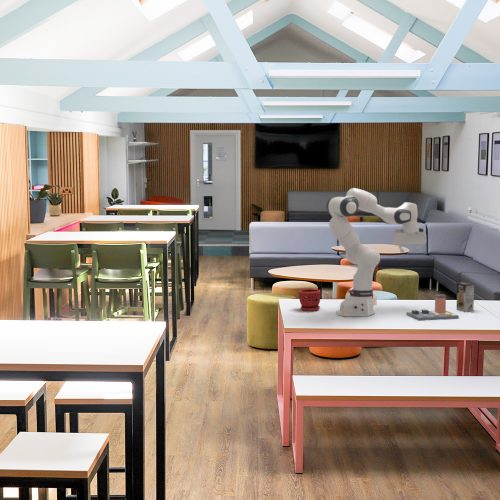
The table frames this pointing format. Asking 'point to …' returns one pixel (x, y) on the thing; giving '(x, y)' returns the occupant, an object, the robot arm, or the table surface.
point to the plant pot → (310, 299)
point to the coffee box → (465, 296)
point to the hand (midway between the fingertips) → (409, 252)
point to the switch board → (431, 315)
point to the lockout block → (440, 303)
